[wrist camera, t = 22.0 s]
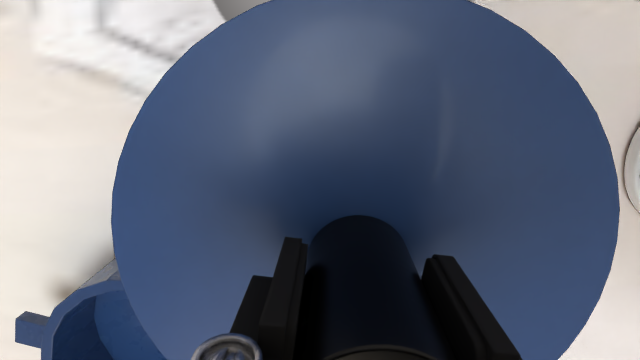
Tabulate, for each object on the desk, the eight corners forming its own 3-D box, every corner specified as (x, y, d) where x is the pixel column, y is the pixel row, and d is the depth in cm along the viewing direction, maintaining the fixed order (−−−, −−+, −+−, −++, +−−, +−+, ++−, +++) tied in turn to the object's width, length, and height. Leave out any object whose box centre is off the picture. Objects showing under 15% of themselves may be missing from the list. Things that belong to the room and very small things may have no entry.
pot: (64, 215, 29) (7, 244, 24) (311, 281, 30) (307, 323, 25) (56, 363, 34) (6, 414, 29) (269, 416, 35) (257, 475, 30)
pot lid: (165, -87, 10) (-166, -415, 3) (699, 85, 11) (1283, 96, 4) (106, 362, 15) (-75, 589, 8) (475, 457, 16) (578, 732, 9)
